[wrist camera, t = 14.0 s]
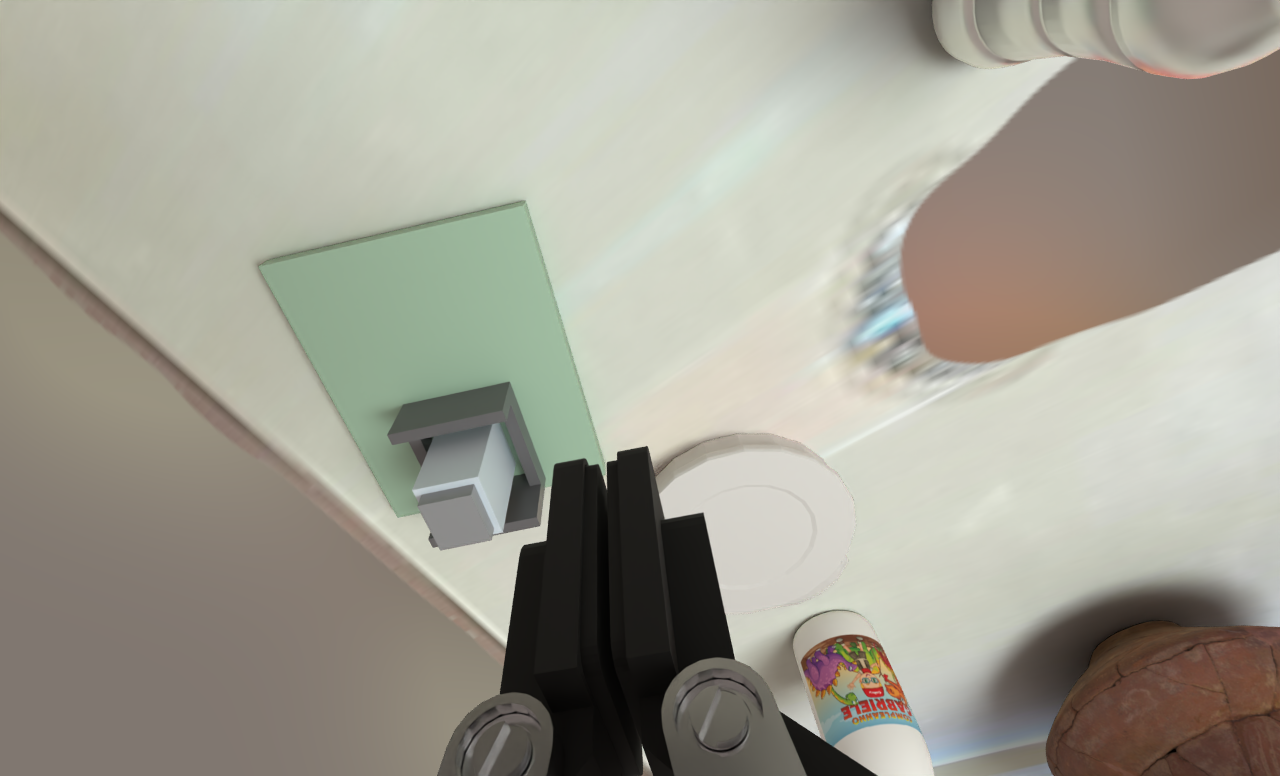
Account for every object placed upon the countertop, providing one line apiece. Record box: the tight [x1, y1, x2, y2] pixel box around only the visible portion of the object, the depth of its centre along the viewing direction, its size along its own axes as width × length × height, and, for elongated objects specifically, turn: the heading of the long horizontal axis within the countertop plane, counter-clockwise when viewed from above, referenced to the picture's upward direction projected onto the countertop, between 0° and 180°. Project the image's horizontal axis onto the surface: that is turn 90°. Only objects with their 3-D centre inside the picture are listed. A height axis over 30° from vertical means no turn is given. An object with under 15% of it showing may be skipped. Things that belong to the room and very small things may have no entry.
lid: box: [655, 434, 856, 614], centre depth 48 cm, size 17×20×3 cm
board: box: [258, 201, 605, 518], centre depth 40 cm, size 20×16×1 cm
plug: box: [412, 423, 516, 550], centre depth 39 cm, size 5×4×8 cm
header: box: [387, 382, 546, 548], centre depth 40 cm, size 8×7×5 cm
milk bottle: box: [793, 611, 934, 776], centre depth 49 cm, size 8×8×20 cm
